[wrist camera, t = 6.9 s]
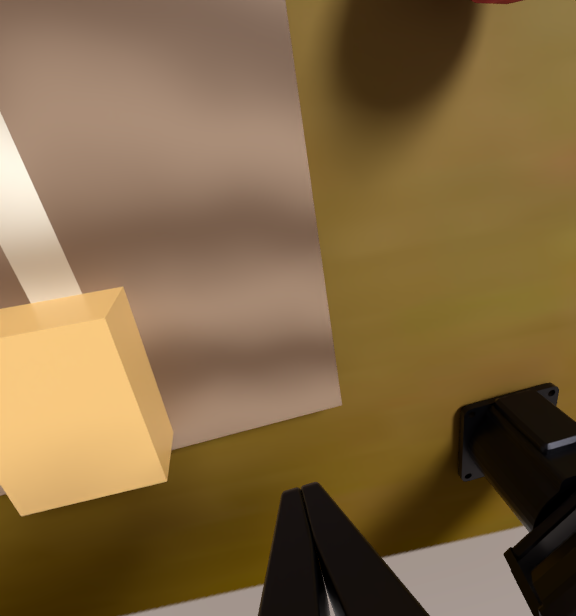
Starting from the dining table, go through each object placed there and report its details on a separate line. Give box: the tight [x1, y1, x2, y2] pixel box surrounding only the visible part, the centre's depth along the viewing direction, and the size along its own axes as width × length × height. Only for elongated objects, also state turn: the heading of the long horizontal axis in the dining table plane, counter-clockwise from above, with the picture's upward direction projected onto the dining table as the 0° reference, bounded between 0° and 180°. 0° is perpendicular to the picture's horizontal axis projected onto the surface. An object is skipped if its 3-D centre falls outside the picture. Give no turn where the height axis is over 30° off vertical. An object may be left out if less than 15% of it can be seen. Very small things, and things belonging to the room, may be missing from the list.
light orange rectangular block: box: [0, 287, 173, 516], centre depth 16 cm, size 8×6×3 cm
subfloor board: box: [0, 0, 342, 495], centre depth 16 cm, size 20×18×2 cm
